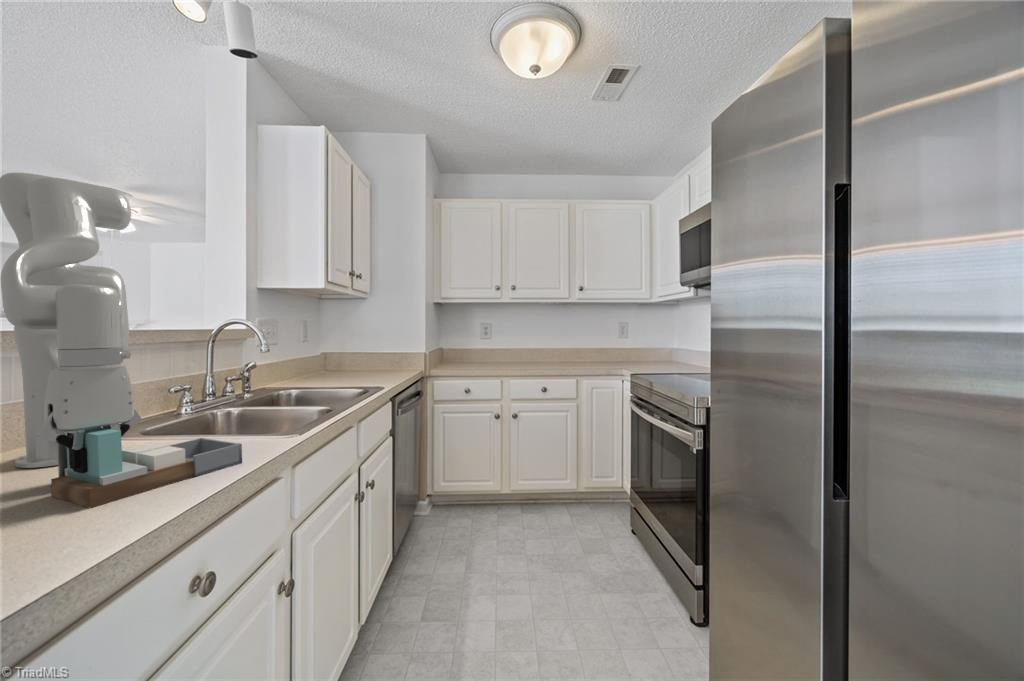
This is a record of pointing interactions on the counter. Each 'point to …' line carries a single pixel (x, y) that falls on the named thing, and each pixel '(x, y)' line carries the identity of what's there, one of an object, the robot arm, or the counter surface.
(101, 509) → the counter surface
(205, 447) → the tray
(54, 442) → the robot arm
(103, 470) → the teal cube on plate
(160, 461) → the tile
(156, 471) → the board
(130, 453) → the tile
